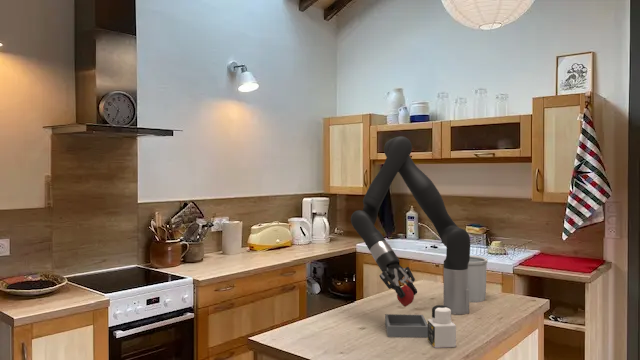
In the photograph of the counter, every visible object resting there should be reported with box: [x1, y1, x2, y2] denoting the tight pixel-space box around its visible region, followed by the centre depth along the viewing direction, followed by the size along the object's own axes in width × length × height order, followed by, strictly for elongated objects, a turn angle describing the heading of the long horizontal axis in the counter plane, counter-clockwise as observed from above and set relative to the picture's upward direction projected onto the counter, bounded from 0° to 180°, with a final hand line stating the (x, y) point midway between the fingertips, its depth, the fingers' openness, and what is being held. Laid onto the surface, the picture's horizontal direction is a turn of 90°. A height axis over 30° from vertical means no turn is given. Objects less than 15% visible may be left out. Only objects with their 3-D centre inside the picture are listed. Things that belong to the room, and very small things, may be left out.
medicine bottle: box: [427, 304, 457, 349], centre depth 159 cm, size 7×7×12 cm
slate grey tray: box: [384, 313, 428, 339], centre depth 172 cm, size 14×14×4 cm
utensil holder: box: [468, 254, 488, 303], centre depth 214 cm, size 15×15×18 cm
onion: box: [396, 283, 415, 308], centre depth 172 cm, size 6×6×8 cm
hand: (409, 295), depth 170 cm, fingers closed on onion, 5 cm apart
